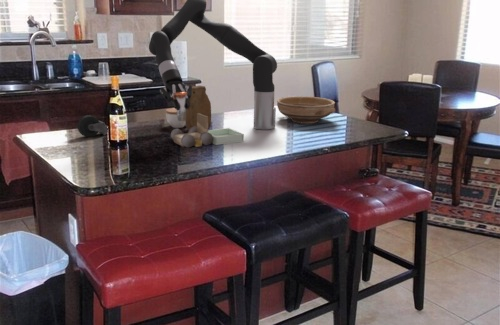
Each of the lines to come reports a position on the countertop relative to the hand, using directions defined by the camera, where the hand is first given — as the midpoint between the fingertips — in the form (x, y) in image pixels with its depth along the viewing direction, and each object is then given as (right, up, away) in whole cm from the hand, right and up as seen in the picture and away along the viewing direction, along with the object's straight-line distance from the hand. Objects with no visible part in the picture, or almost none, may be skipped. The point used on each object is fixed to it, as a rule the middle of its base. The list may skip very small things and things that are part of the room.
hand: (183, 108), depth 201 cm
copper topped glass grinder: (-1, -4, +3) cm, 5 cm away
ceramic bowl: (+54, -1, +52) cm, 75 cm away
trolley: (+2, -13, +8) cm, 15 cm away
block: (+3, -7, +29) cm, 30 cm away
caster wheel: (-39, -10, +17) cm, 44 cm away
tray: (+15, -12, +13) cm, 23 cm away
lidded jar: (-7, -5, +37) cm, 38 cm away
